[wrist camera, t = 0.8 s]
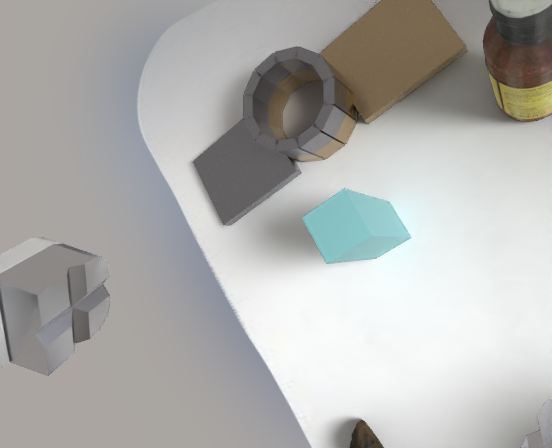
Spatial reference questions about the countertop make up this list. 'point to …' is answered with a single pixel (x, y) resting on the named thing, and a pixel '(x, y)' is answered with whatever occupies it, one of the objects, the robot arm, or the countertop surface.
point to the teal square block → (355, 227)
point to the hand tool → (364, 437)
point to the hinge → (324, 99)
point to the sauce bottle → (520, 57)
